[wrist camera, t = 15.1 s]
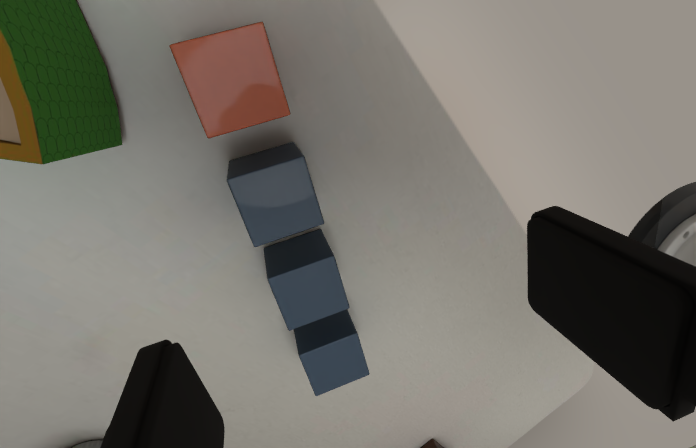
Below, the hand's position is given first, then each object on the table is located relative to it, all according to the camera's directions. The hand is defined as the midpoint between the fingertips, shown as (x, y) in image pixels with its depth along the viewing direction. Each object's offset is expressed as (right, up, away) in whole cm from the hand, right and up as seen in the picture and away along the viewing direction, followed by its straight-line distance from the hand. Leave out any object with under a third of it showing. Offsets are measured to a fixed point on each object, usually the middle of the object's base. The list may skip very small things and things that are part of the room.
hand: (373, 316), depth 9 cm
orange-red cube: (-8, +11, +13) cm, 19 cm away
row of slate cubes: (-5, +2, +18) cm, 19 cm away
